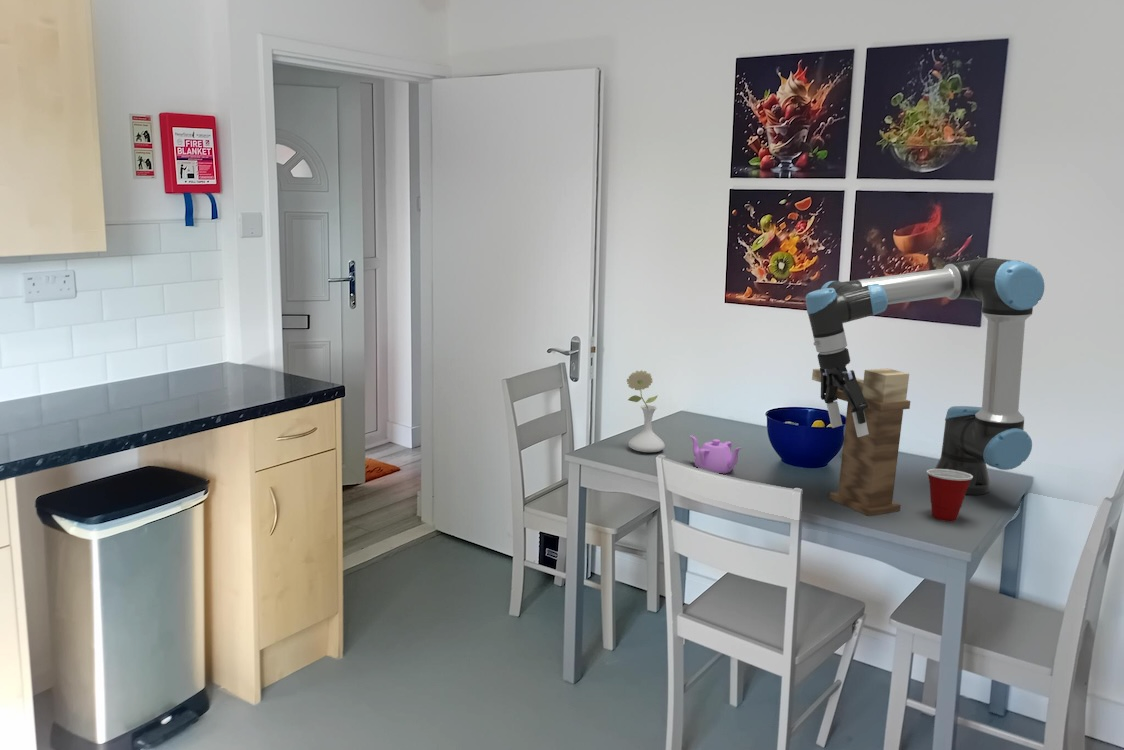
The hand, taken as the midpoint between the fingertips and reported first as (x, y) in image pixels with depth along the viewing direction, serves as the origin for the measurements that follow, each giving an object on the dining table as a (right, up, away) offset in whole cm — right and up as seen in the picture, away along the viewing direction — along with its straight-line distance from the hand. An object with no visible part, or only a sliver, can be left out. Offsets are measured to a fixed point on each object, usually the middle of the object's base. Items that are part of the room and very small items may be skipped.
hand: (849, 430), depth 223 cm
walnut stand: (+5, -19, +10) cm, 22 cm away
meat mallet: (+4, +10, +8) cm, 14 cm away
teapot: (-29, -13, +33) cm, 46 cm away
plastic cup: (+24, -22, 0) cm, 33 cm away
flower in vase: (-48, -9, +49) cm, 69 cm away
